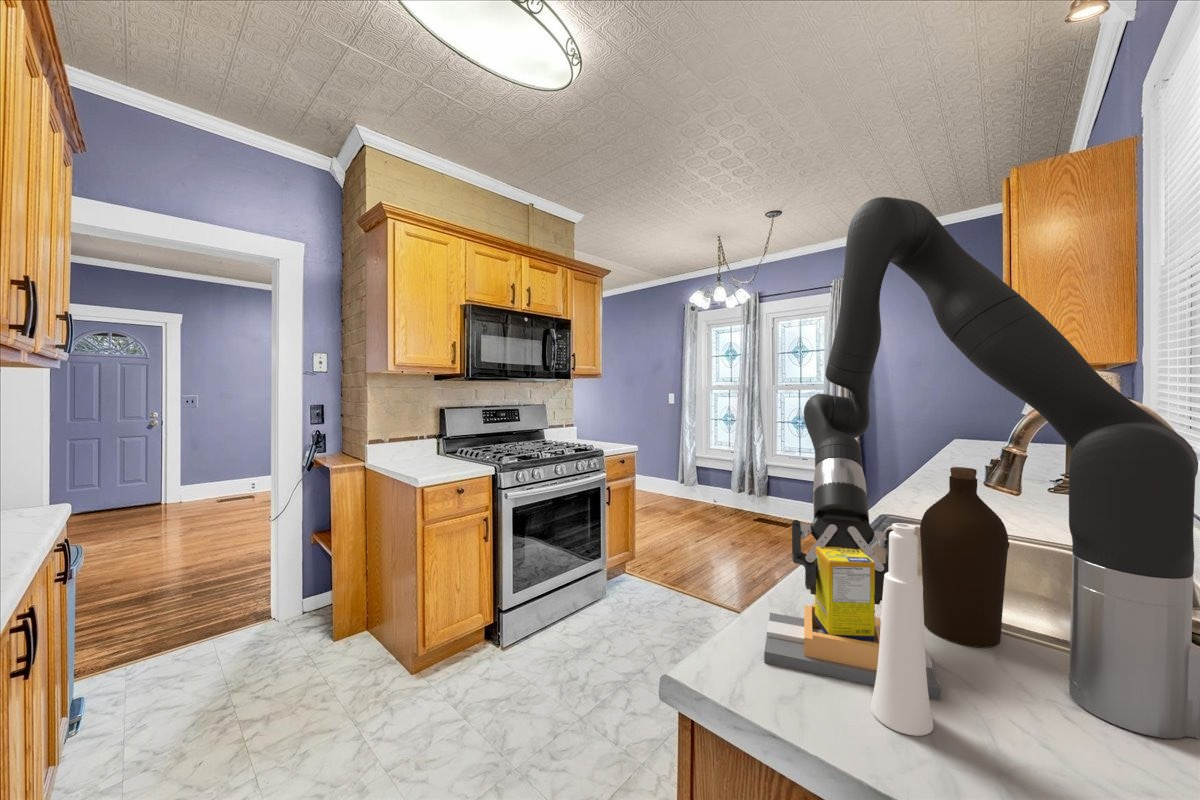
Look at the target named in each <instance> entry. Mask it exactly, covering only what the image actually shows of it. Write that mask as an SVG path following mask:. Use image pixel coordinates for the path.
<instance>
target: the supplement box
mask: <svg viewBox="0 0 1200 800" xmlns="http://www.w3.org/2000/svg"><path fill="white" fill-rule="evenodd" d="M815 551H816V556H817V558H816V560H815V564H816V595H814V604H815V620H816V621H817V623H818V624H819V625H820V627H821V628H822V630H823V631H824V633H825V634H828V635H833V636H839V637H844V638H850V639H855V640H861V641H874V637H875V617H876V616H875V615H876V614H875V612H876V610H875V608H876V606H875V605H876V604H875V600H874V597H875V562H874V561H873V560H872V559H871V558H869V557H868V556H867V555H866V554H864V553H863V552H862V551H861V550H860V549H852V548H842V547H815Z"/></svg>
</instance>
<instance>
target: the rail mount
mask: <svg viewBox="0 0 1200 800" xmlns="http://www.w3.org/2000/svg"><path fill="white" fill-rule="evenodd" d="M803 609H804V613H803V614H804V618H803V617H796V616H793V615H786V614H780V613H775V612H770V613H769V620H767V621H768V622H767V627H766V636H765V637H766V639H765V645H764V651H763V654H764V657H763V658H764V659H763V660H764V661H763V662H764V663H767V664H769V665H770V664H771V665H775V666H779V667H784V668H788V669H794V670H798V671H802V672H803V671H804V672H806V673H807V672H808V673H811V674H812V673H813V674H816V675H821V676H826V677H827V676H828V677H831V678H836V679H841V680H845V681H849V682H855V683H860V684H864V685H868V686H873V687H875V681H876V674H877V665H878V655H879V642H880V628H881V617H877V616H875V637H874V641H861V640H855V639H850V638H844V637H839V636H833V635H828V634H825V633H824V631H823V630H822V628H821V627H820V625H819V624H818V623H817V621H816V620H815V603H811V606H809V605H804V608H803ZM925 658H926V675H927V686H928V695H929V699H933V700H938V701H941V700H942V699H941V698H942V697H941V696H942V693H941V691H942V687H941V685H940V683H939V680H938V678H937V677H936V674H935V672H934V669H933V662H932V659H931V657H930V655H929V653H928V651H927V649H926V648H925Z"/></svg>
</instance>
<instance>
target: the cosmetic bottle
mask: <svg viewBox="0 0 1200 800" xmlns="http://www.w3.org/2000/svg"><path fill="white" fill-rule="evenodd" d="M891 530H893V531H892V532H890V534H889V572H887V573H885V575H884V585H883V597H882V601H881V614H880V616H881V617H880V621H881V628H880V642H879V655H878V665H877V674H876V681H875V686H873V687H874V688H873V694H872V698H871V701H870V711H871V713H872V715H873V716H874V717H875V718H876V720H877V721H878V722H879V723H881V724H883V725H884V726H885V727H887V728H888V729H890V730H892V731H895V732H897V733H900V734H903V735H908V736H913V737H914V736H915V737H922V736H926V735H930V733H931V732H933V730H934V721H933V715H932V710H931V704H930V698H929V695H928V686H927V675H926V658H925V649H926V640H925V639H926V638H925V637H926V636H925V635H926V634H925V625H924V608H923V582H922V579H921V578H920V577H919V575H918V574H919V566H918V564H919V538H918V536H917V534H915V533H916V526H914V525H912V524H909V523H901V522H895V523H892V524H891Z"/></svg>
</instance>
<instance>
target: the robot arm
mask: <svg viewBox="0 0 1200 800" xmlns="http://www.w3.org/2000/svg"><path fill="white" fill-rule="evenodd" d="M844 253H845V254H844V267H843V268H844V269H843V277H842V286H841V296H840V304H839V306H840V307H839V314H838V321H837V324H836V325H837V326H836V329H835V333H834V339H833V341H832V346H831V350H830V353H829V357H828V360H827V365H826V369H825V378H826V379H827V381H828V382H830V383H831V384H834V385H836V386H839V387H842V388H845V389H846V390H849V391H850V397H846V396H840V395H833V394H828V393H825V394H824V393H816V394H814V395H812V396H811V397H810V398H809V399H807V401H806V403H805V405H804V409H803V419H804V425H805V427H806V430H807V432H808V435H809V437H810V440H811V444H812V446H813V449H814V476H813V489H812V493H813V520H812V522H811V523H809V524H808V523H801V521H800V520H798V519H794V520H792V521H791V552H792V553H791V556H792V557H791V559H792V562H793V563H794V564H796V565H801V566H802V567H804V570H805V571H804V572H805V574H804V578H805V579H804V580H805V582H804V585H805V588H806V590H809V591H810V595H814V596H815V595H816V564H815V560H816V558H817V556H816V551H815V547H842V548H852V549H860V550H861V551H862V552H863V553H864V554H866V555H867V556H868V557H869V558H871V559H872V560H873V561H874V562H875V597H874V600H875V605H876V606H877V605H879V606H880V604H881V602H882V597H883V585H884V575H885V573H887V572H889V534H890V532H892V531H893V529H892V528H890V529H887V530H886V531H877V530H874V529H873V527H872V526H871V524H870V515H869V503H868V494H867V492H868V491H867V483H866V482H867V481H866V477H865V474H864V470H863V467H864V466H863V458H862V457H863V455H862V449H861V445H860V443H859V441H858V440H857V439H856V438H859V437H860V436H862V435H863V434H864V433H865V432H866V431H867V430H868V427H869V426H870V386H871V385H870V383H871V378H872V373H873V370H874V367H875V363H876V361H877V357H878V353H879V349H880V346H881V340H882V323H881V309H880V308H881V307H880V306H881V304H880V300H881V292H882V291H881V290H882V286H883V281H884V277H885V275H886V271H887V269H888V267H889V264H890V263H891V264H893V265H894V266H896V267H897V268H899V269H900V270H901V271H903V272H904V273H905V274H906V275H907V276H908V277H910V278H911V280H912V281H914V282H915V283H916V285H918V287H920V289H921V290H922V291H923V292H924V294H925V295H926V297H927V300H928V302H929V304H930V307H931V310H932V313H933V315H934V317H935V319H936V321H937V324H938V325H939V327H940V329H941V331H942V332H943V333H944V335H945V336H946V337H947V338H948V339H949V341H950V342H951V343H953V345H954V346H955V347H956V348H957V349H958V350H959V351H960V352H961V353H962V354H963V355H964V356H965V357H966V359H968V360H969V362H971V363H972V364H973V365H974V366H975V367H976V368H977V369H979V370H980V372H982V373H983V374H984V375H986V376H988V377H989V378H990V379H991V380H992V381H994V382H995V383H997V384H998V385H999V386H1002V388H1004V389H1005V390H1007V391H1009V393H1011V394H1013V395H1014V396H1016V397H1017V398H1019V399H1020V400H1021V401H1023V402H1024V403H1026V404H1027V405H1029V406H1030V407H1031V408H1033V409H1034V410H1035V411H1036V412H1037V413H1038V414H1039V415H1040V416H1042V418H1044V419H1045V420H1046V421H1047V423H1049V424H1050V426H1051V427H1052V428H1053V429H1054V430H1055V431H1056V432H1057V434H1058V435H1059V436H1060V438H1062V439H1063V440H1064V441H1065V443H1066V444H1067V445H1068V446H1069V448H1070V450H1072V451H1071V454H1070V458H1069V464H1068V526H1069V528H1068V529H1069V532H1070V535H1071V539H1072V541H1071V542H1072V547H1071V548H1072V553H1071V554H1072V555H1071V556H1072V558H1071V593H1070V594H1071V595H1070V596H1071V597H1070V599H1071V600H1070V627H1069V628H1070V631H1069V633H1070V634H1069V635H1070V638H1069V671H1068V692H1069V694H1068V695H1069V696H1070V697H1071V698H1072V701H1074V702H1075V703H1076V704H1077V705H1079V706H1080V707H1081V708H1083V709H1085V710H1086V711H1087V712H1089V713H1091V714H1092V715H1094V716H1096V717H1098V718H1100V719H1102V720H1104V721H1106V722H1108V723H1111V724H1112V725H1115V726H1118V727H1121V728H1124V729H1126V730H1128V731H1130V732H1135V733H1139V734H1141V735H1145V736H1150V737H1154V738H1155V737H1156V738H1160V739H1161V738H1163V739H1181V738H1184V737H1189V738H1190V737H1192V738H1194V739H1195V738H1197V739H1200V647H1199V646H1197V645H1196V644H1195V643H1193V642H1192V635H1193V634H1192V631H1193V629H1192V628H1193V627H1192V626H1193V599H1194V598H1193V597H1194V596H1193V595H1194V573H1195V571H1194V569H1195V543H1194V524H1195V523H1194V519H1195V497H1196V496H1195V495H1196V494H1195V491H1196V490H1195V489H1196V477H1197V475H1198V473H1199V460H1198V456H1197V453H1196V452H1195V450H1194V447H1193V446H1192V445H1191V444H1190V442H1188V441H1187V440H1186V439H1185V438H1184V437H1183V436H1181V435H1180V434H1179V433H1177V432H1175V430H1173V429H1171V428H1170V427H1168V426H1167V425H1166V424H1164V423H1162V422H1161V421H1159V420H1158V419H1157V418H1155V417H1153V416H1152V415H1151V414H1150V413H1148V412H1147V411H1145V410H1144V409H1142V408H1141V407H1140V406H1139V405H1137V404H1136V403H1134V402H1133V401H1132V400H1130V399H1129V398H1128V397H1126V396H1125V395H1123V393H1121V392H1120V391H1118V390H1117V388H1114V387H1113V385H1111V384H1110V383H1108V382H1107V381H1106V380H1105V379H1104V378H1103V377H1102V376H1101V375H1100V374H1099V373H1098V372H1097V371H1096V370H1095V369H1094V368H1093V367H1092V366H1091V365H1090V363H1089V362H1088V361H1087V360H1086V359H1085V357H1084V356H1082V354H1081V353H1080V352H1079V351H1078V349H1076V347H1075V346H1074V345H1073V344H1072V343H1071V342H1070V341H1069V340H1068V338H1066V337H1065V336H1064V335H1063V334H1062V333H1061V332H1060V330H1058V329H1057V327H1055V326H1054V325H1053V324H1052V323H1051V322H1050V321H1049V320H1048V319H1047V318H1046V317H1045V316H1044V315H1043V314H1042V313H1041V311H1039V310H1037V309H1036V307H1034V306H1033V305H1032V304H1030V302H1028V301H1027V300H1026V299H1025V298H1024V297H1023V296H1022V295H1021V294H1020V293H1018V292H1017V291H1016V290H1015V289H1013V287H1011V286H1009V284H1007V283H1006V282H1004V280H1002V279H1001V278H1000V277H998V275H996V274H995V273H994V272H993V271H991V270H990V269H989V268H988V267H986V266H985V265H984V264H982V263H981V262H979V261H978V260H977V259H976V258H974V257H973V256H971V255H970V254H969V253H968V252H967V251H966V250H965V249H963V247H962V246H961V245H960V244H959V243H958V242H957V241H956V240H955V238H954V237H953V236H952V235H951V234H950V233H949V231H947V229H946V228H945V227H944V226H943V224H942V223H941V222H940V221H939V220H938V219H937V217H936V216H935V215H934V214H933V213H932V211H930V210H929V208H928V207H926V206H925V205H923V204H922V203H921V202H918V201H916V200H912V199H911V200H910V199H904V198H897V197H891V196H879V197H878V196H877V197H875V198H872V199H870V200H868V201H866V202H865V203H863V204H862V205H861V206H860V207H859V208H858V209H857V210H856V211H855V213H854V214H853V216H852V218H851V220H850V224H849V226H848V230H847V236H846V243H845V252H844ZM808 534H811V535H812V536H813V538H814V539H815V540H816V541H815V543H814V544H813V545H812V548H811V549H810V551H808V553H804V552H803V551H802V542H801V541H802V540H804V539H806V538H807V535H808ZM873 541H877V542H878V546H879V547H880V548H882V549H884V556H885V562H884V563H882V562H881V561H880V560H879V558H878V557H877V556H876V554H875V551H874V550H873V549H872V548H871V547H870V544H872V542H873Z"/></svg>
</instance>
